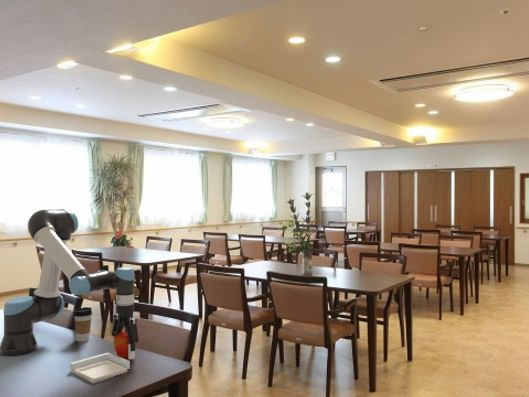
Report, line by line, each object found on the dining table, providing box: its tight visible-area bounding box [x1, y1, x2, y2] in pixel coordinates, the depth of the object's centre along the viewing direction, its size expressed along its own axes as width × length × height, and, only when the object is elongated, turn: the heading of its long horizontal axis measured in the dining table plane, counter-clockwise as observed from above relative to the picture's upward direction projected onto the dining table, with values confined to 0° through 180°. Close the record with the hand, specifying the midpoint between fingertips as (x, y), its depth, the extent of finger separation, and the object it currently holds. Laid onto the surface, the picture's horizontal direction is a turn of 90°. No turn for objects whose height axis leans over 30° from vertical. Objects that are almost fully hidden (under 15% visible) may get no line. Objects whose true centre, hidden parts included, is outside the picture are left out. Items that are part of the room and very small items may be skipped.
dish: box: [73, 360, 128, 384], centre depth 180 cm, size 14×14×2 cm
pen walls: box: [69, 352, 131, 374], centre depth 183 cm, size 16×17×4 cm
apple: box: [113, 331, 130, 360], centre depth 198 cm, size 9×9×12 cm
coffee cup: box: [73, 306, 93, 343], centre depth 223 cm, size 8×8×15 cm
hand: (124, 355), depth 198 cm, fingers closed on apple, 9 cm apart
